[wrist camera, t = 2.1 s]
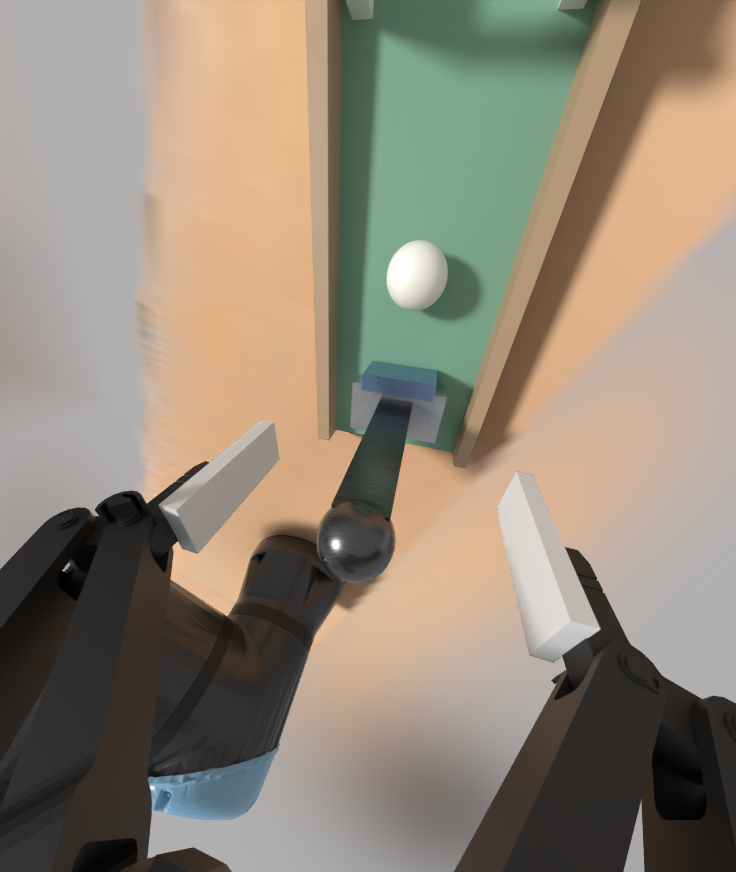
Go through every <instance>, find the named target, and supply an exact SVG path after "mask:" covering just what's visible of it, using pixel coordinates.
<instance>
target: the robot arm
mask: <svg viewBox="0 0 736 872" xmlns="http://www.w3.org/2000/svg"><path fill="white" fill-rule="evenodd" d="M278 460H279V453H278V446H277V440H276V433H275V426H274V422H272V421H267V420H261V421H259V422H258V423H257V424H256V425H255V426H253V427H252V428H251V429H250V430H248V431H247V432H246V433H245V434H244V435H242V436H241V437H240V438H239V439H238V440H236V441H235V442H234V443H233V444H232V445H230V446H229V447H228V448H227V449H226V450H224V451H223V452H222V453H221V454H219V455H218V456H217V457H216V458H215V459H213V460H212V461H211V462H207V461H205V462H203V463H201V464H199V465H197V466H194V467H193V468H192V469H190V470H189V471H188V472H187V473H185V474H184V476H182V477H180V478H179V479H178V480H177V481H176V482H174V483H173V484H171V485H170V486H169V487H168V488H166V489H165V490H164V491H163V492H161V493H160V494H159V495H158V496H156V497H155V498H154V499H152V500H151V501H150V502H149V503H147V504H146V502H145V500H144V498H143V497H142V495H141V494H140V493H139V492H136V491H125V492H121V493H117V494H114V495H112V496H110V497H108V498H106V499H105V500H104V501H102V502H101V503H100V504H99V505H98V506H97V507H96V509H95V511H96V512H97V514H98V515H99V516H94V515H93V514H92V513H91V512H90V510H88V509H86V508H73V509H69V510H66V511H63V512H61V513H59V514H57V515H55V516H53V517H52V518H50V519H49V520H48V521H46V522H45V523H44V524H43V525H42V526H41V527H40V528H39V529H38V530H37V531H36V532H35V533H34V534H33V535H32V536H31V538H30V539H29V540H28V541H27V542H26V543H25V544H24V545H23V546H22V547H21V548H20V549H19V550H18V551H17V552H16V553H15V554H14V555H13V556H12V558H11V559H10V560H9V561H8V562H7V563H6V564H5V565H4V566H3V567H2V568H1V569H0V872H231V870H230V869H229V867H228V866H227V865H226V864H224V863H223V862H221V861H219V860H217V859H215V858H213V857H211V856H209V855H207V854H205V853H203V852H201V851H199V850H197V849H195V848H188V849H183V850H179V851H173V852H169V853H163V854H158V855H156V856H155V857H152V858H149V859H147V855H148V845H149V834H150V825H151V814H152V810H153V811H161V812H165V813H167V814H169V815H174V816H180V817H186V818H193V819H202V820H230V819H235V818H237V817H239V816H241V815H243V814H244V813H246V812H247V811H248V810H249V809H250V808H251V807H252V805H253V804H254V803H255V801H256V799H257V798H258V796H259V794H260V791H261V788H262V786H263V783H264V781H265V778H266V776H267V773H268V771H269V768H270V766H271V763H272V761H273V758H274V756H275V754H276V753H277V751H278V748H279V740H280V737H281V735H282V732H283V729H284V726H285V723H286V720H287V717H288V714H289V711H290V708H291V705H292V702H293V699H294V695H295V693H296V690H297V687H298V684H299V681H300V678H301V675H302V672H303V669H304V666H305V663H306V660H307V657H308V654H309V651H310V648H311V645H312V642H313V640H314V637H315V635H316V633H317V631H318V630H319V628H320V627H321V625H322V624H323V622H324V621H325V619H326V618H327V616H328V615H329V613H330V612H331V610H332V609H333V607H334V606H335V604H336V603H337V601H338V600H339V598H340V595H341V592H342V589H343V586H344V583H345V582H344V581H341V580H339V579H337V578H335V577H334V576H332V575H331V574H330V573H329V572H328V571H327V570H326V569H325V567H324V566H323V564H322V562H321V560H320V558H319V555H318V552H317V546H315V545H313V544H311V543H309V542H307V541H304V540H301V539H298V538H294V537H288V536H272V537H268V538H266V539H264V540H262V541H261V542H260V543H259V545H258V546H257V548H256V550H255V551H254V553H253V554H252V556H251V558H250V561H249V564H248V568H247V571H246V574H245V578H244V581H243V584H242V588H241V591H240V594H239V598H238V600H237V602H236V604H235V605H234V607H233V609H232V610H231V612H230V614H229V615H228V617H227V616H225V615H224V614H223V613H221V612H219V611H218V610H216V609H215V608H213V607H212V606H210V605H209V604H207V603H206V602H204V601H202V600H201V599H199V598H198V597H196V596H195V595H193V594H192V593H190V592H189V591H187V590H186V589H184V588H183V587H181V586H180V585H178V584H177V583H175V582H173V581H172V580H170V578H171V569H172V561H173V548H172V546H173V545H174V544H175V543H176V542H177V541H178V542H179V543H180V545H181V547H182V549H184V550H188V551H191V552H194V553H197V554H198V553H199V552H200V551H201V550H202V549H203V547H204V546H205V545H206V544H207V543H208V542H209V540H210V539H211V538H212V537H213V536H214V535H215V534H216V532H217V531H218V530H219V529H220V528H221V527H222V525H223V524H224V523H225V522H226V521H227V520H228V518H229V517H230V516H231V515H232V514H233V513H234V511H235V510H236V509H237V508H238V507H239V506H240V504H241V503H242V502H243V501H244V500H245V499H246V498H247V496H248V495H249V494H250V493H251V492H252V491H253V489H254V488H255V487H256V486H257V485H258V484H259V482H260V481H261V480H262V479H263V478H264V477H265V475H266V474H267V473H268V472H269V471H270V470H271V469H272V467H273V466H274V465H275V464H276V463H277V462H278ZM497 513H498V518H499V522H500V526H501V531H502V535H503V540H504V544H505V549H506V553H507V558H508V562H509V567H510V570H511V576H512V580H513V585H514V589H515V593H516V598H517V602H518V607H519V611H520V616H521V620H522V624H523V629H524V634H525V638H526V642H527V647H528V651H529V655H530V656H533V657H536V658H540V659H543V660H546V661H549V662H553V663H554V662H555V661H556V660H558V659H560V658H561V657H562V656H563V660H564V663H565V666H566V669H567V670H566V671H564V672H562V673H561V674H559V675H557V676H556V677H555V678H554V679H552V680H551V681H552V682H553V683H554V684H556V683H557V684H556V686H555V688H554V690H553V691H552V693H551V695H550V697H549V699H548V701H547V702H546V704H545V706H544V708H543V710H542V712H541V714H540V715H539V717H538V719H537V721H536V723H535V724H534V726H533V728H532V730H531V732H530V734H529V735H528V737H527V739H526V741H525V743H524V745H523V746H522V748H521V750H520V752H519V754H518V755H517V757H516V759H515V761H514V763H513V765H512V767H511V769H510V770H509V772H508V774H507V776H506V777H505V779H504V781H503V783H502V785H501V787H500V789H499V790H498V792H497V794H496V796H495V798H494V800H493V801H492V803H491V805H490V807H489V809H488V811H487V812H486V814H485V816H484V818H483V820H482V821H481V824H480V825H479V827H478V829H477V831H476V832H475V834H474V836H473V838H472V840H471V842H470V843H469V845H468V847H467V849H466V851H465V853H464V855H463V856H462V858H461V860H460V862H459V864H458V866H457V867H456V869H455V871H454V872H623V870H624V866H625V862H626V858H627V854H628V850H629V846H630V842H631V839H632V834H633V830H634V826H635V822H636V818H637V815H638V811H639V806H640V802H641V799H642V821H643V845H644V866H645V867H644V869H645V872H736V703H734V702H731V701H730V700H728V699H726V698H724V697H718V696H711V697H708V698H705V699H701V698H699V697H698V696H696V695H694V694H692V693H691V692H689V691H687V690H685V689H684V688H682V687H680V686H678V685H677V684H675V683H673V682H672V681H670V680H668V679H666V678H665V677H663V676H662V675H661V674H660V672H659V671H658V670H657V668H656V667H655V666H654V664H653V663H652V662H651V661H650V660H649V659H648V658H647V657H646V656H645V655H644V654H643V653H642V652H640V651H639V650H637V649H636V648H634V647H633V646H632V645H631V644H630V643H629V641H628V639H627V638H626V636H625V633H624V631H623V629H622V627H621V626H620V623H619V621H618V619H617V618H616V616H615V613H614V611H613V609H612V608H611V606H610V603H609V601H608V600H607V597H606V595H605V594H604V593H603V589H602V587H601V586H600V583H599V581H597V577H596V576H595V573H594V571H593V569H592V568H591V565H590V564H589V562H588V561H587V560H586V559H585V558H584V557H583V556H582V554H581V553H580V552H579V551H578V550H575V549H570V548H566V547H564V545H563V542H562V540H561V538H560V536H559V533H558V531H557V529H556V527H555V524H554V522H553V520H552V517H551V515H550V513H549V510H548V508H547V506H546V504H545V502H544V499H543V497H542V494H541V492H540V490H539V488H538V486H537V483H536V481H535V479H534V476H533V475H531V474H526V473H522V472H516V473H515V475H514V477H513V479H512V481H511V482H510V485H509V486H508V488H507V490H506V492H505V494H504V496H503V498H502V499H501V501H500V503H499V505H498V507H497ZM68 562H69V563H70V564H71V565H70V566H69V567H68V569H67V570H66V571H65V572H63V571H62V570H63V569H64V567H65V566H66V565H67V563H68Z"/></svg>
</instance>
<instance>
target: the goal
mask: <svg viewBox="0 0 736 872" xmlns="http://www.w3.org/2000/svg"><path fill="white" fill-rule="evenodd" d="M587 1H588V0H560V2H559V5H558V9H557V10H565V9H583V8H584V6H585V4H586V2H587ZM346 3H347V6H348V9H349V12H350V15H351V18H352V20H361V19H373V7H374V0H346Z"/></svg>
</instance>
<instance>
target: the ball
mask: <svg viewBox="0 0 736 872" xmlns="http://www.w3.org/2000/svg"><path fill="white" fill-rule="evenodd" d="M447 278H448V266H447V262H446V259H445V256H444V254H443V253H442V251H441V250H440V249H439V248H438V247H437V246H436V245H435V244H433V243H431V242H428V241H425V240H415V241H411V242H409V243H407V244H405V245H403V246H402V247H401V248H400V249H399V250H398V251H397V252H396V253H395V254H394V256H393V257H392V259H391V261H390V263H389V266H388V270H387V278H386V280H387V288H388V291H389V294H390V296H391V298H392V299H393V301H394V302H395V303H396V304H397V305H398V306H400V307H401V308H403V309H406V310H409V311H419V310H423V309H426V308H428V307H429V306H431V305H432V304H434V303H435V302H436V301H437V300H438V298H439V297H440V296H441V294H442V293H443V291H444V289H445V286H446V283H447Z"/></svg>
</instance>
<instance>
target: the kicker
mask: <svg viewBox="0 0 736 872" xmlns="http://www.w3.org/2000/svg"><path fill="white" fill-rule="evenodd" d="M446 400H447V388H446V387H441V386H437V370H431V369H424V368H418V367H411V366H404V365H397V364H391V363H384V362H377V361H372V362H371V363H370V365H369V366H368V367H367V369H366V370H365V371H364V373H363V374H359V375H358V376H357V377H356V378H355V380H354V381H353V383H352V403H351V423H350V427H351V428H356V429H361V430H366V431H365V433H364V436H363V438H362V440H361V442H360V444H359V446H358V448H357V451H356V453H355V455H354V457H353V459H352V461H351V464H350V466H349V468H348V470H347V472H346V474H345V477H344V479H343V481H342V483H341V485H340V487H339V490H338V492H337V494H336V496H335V498H334V500H333V503H332V508H331V509H330V510H328V512H327V513H326V514H325V515H324V517H323V519H322V520H321V522H320V525H319V528H318V531H317V539H316V545H317V552H318V555H319V558H320V560H321V562H322V564H323V566H324V567H325V569H326V570H327V571H328V572H329V573H330V574H331V575H332V576H334V577H335V578H337V579H339V580H341V581H344V582H348V583H363V582H366V581H369V580H372V579H373V578H375V577H377V576H378V575H379V574H380V573H382V572H383V571H384V569H385V568H386V567H387V566H388V564H389V562H390V561H391V558H392V556H393V553H394V549H395V531H394V527H393V524H392V522H391V520H390V517H391V512H392V507H393V502H394V497H395V492H396V487H397V482H398V477H399V472H400V467H401V461H402V456H403V451H404V446H405V441H406V438H408V439H413V440H419V441H424V442H429V443H434V444H435V441H436V437H437V433H438V430H439V426H440V422H441V419H442V415H443V411H444V408H445V404H446Z"/></svg>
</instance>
